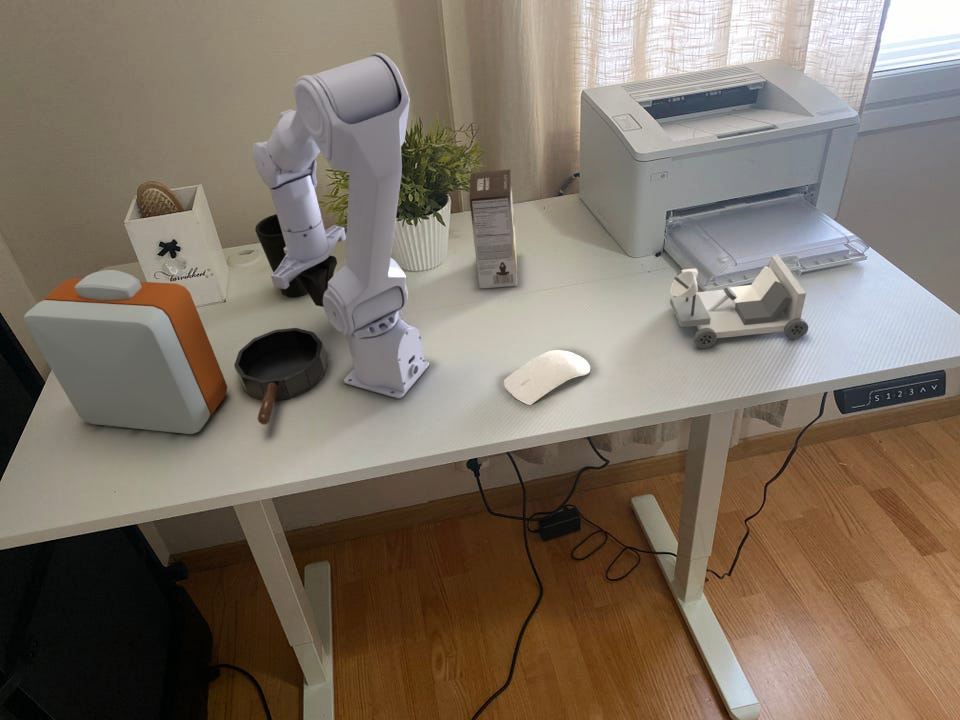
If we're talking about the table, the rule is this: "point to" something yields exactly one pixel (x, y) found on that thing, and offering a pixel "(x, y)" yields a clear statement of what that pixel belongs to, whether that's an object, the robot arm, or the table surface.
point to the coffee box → (493, 228)
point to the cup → (276, 251)
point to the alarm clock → (129, 352)
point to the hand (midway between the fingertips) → (323, 303)
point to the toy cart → (741, 305)
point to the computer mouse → (545, 375)
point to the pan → (280, 366)
